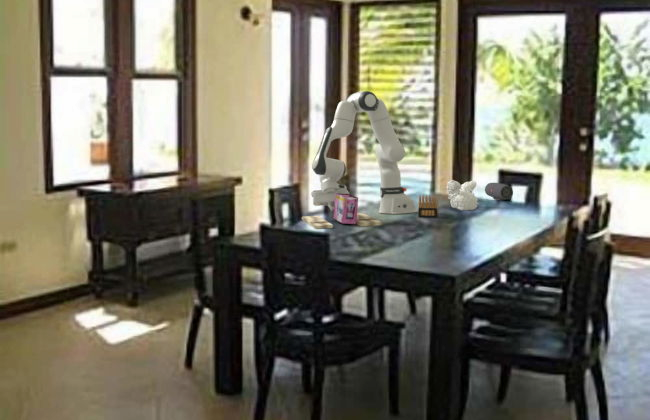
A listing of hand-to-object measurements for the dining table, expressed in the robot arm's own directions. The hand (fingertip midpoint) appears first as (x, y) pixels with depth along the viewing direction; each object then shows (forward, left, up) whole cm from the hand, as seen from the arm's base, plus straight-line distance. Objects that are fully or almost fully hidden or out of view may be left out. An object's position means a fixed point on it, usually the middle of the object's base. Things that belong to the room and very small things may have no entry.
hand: (333, 210), depth 476 cm
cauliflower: (-79, -20, -6) cm, 81 cm away
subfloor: (-2, +8, -5) cm, 10 cm away
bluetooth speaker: (-113, -52, -6) cm, 124 cm away
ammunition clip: (-49, +10, -6) cm, 50 cm away
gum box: (-4, +10, -5) cm, 12 cm away
